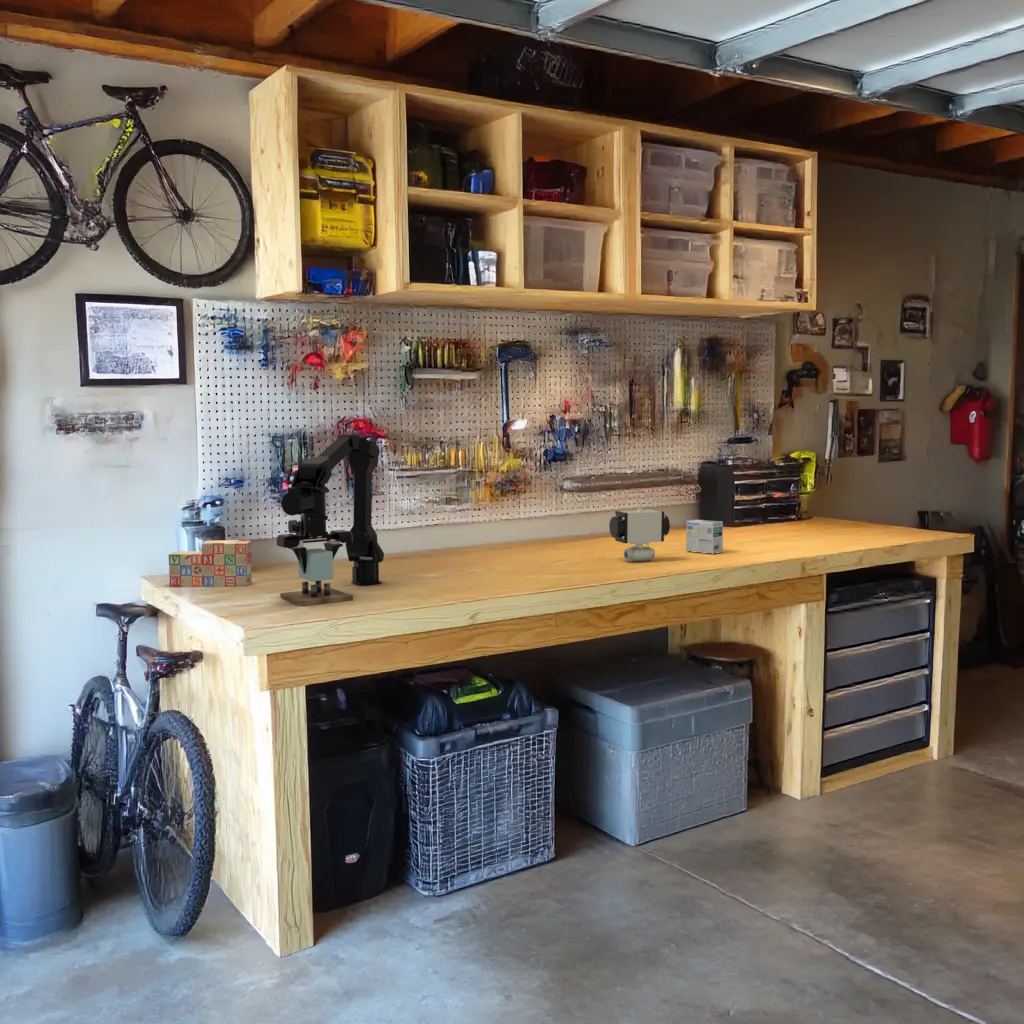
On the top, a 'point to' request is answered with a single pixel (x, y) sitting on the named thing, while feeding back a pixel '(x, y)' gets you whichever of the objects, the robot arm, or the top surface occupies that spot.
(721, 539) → the light bulb box
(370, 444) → the robot arm
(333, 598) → the peg stand
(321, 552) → the teal block
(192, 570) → the stack of blocks
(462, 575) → the top surface
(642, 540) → the ball valve
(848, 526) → the top surface
